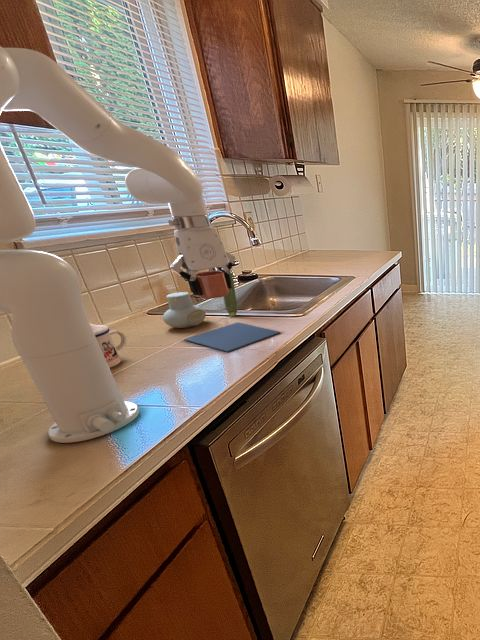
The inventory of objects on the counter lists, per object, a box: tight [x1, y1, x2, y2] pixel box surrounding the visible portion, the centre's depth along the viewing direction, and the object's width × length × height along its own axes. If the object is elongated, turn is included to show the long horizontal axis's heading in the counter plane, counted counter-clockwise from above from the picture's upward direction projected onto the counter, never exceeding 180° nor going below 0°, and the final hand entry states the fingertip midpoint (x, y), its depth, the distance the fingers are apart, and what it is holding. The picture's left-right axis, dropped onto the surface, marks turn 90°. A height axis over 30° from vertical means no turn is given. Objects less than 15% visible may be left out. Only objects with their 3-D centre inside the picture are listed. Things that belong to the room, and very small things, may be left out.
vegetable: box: [215, 268, 238, 317], centre depth 130 cm, size 4×4×20 cm
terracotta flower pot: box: [196, 270, 229, 300], centre depth 108 cm, size 7×7×6 cm
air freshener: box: [162, 291, 207, 329], centre depth 123 cm, size 11×8×10 cm
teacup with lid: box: [90, 323, 127, 369], centre depth 97 cm, size 12×9×12 cm
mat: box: [183, 322, 281, 353], centre depth 115 cm, size 20×16×1 cm
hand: (213, 290), depth 108 cm, fingers closed on terracotta flower pot, 7 cm apart
